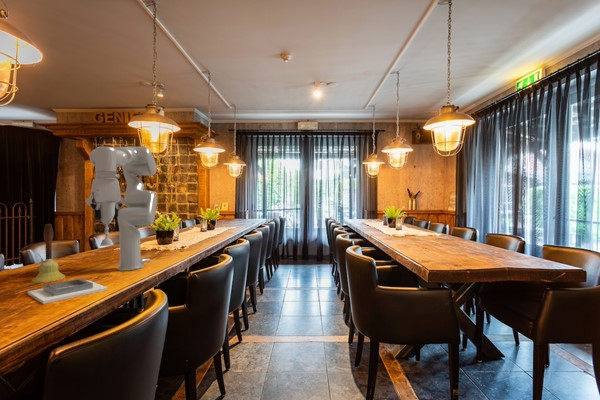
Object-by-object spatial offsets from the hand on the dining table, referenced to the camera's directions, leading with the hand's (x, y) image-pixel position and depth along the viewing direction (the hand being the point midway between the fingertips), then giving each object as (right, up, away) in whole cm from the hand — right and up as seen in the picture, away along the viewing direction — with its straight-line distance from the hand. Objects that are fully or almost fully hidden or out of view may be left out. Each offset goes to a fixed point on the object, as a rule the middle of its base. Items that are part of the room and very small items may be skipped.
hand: (106, 218), depth 131 cm
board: (-8, -28, -11) cm, 31 cm away
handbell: (-32, -28, +10) cm, 44 cm away
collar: (-8, -28, -11) cm, 31 cm away
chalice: (0, -11, 0) cm, 11 cm away
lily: (-45, -28, +23) cm, 58 cm away
